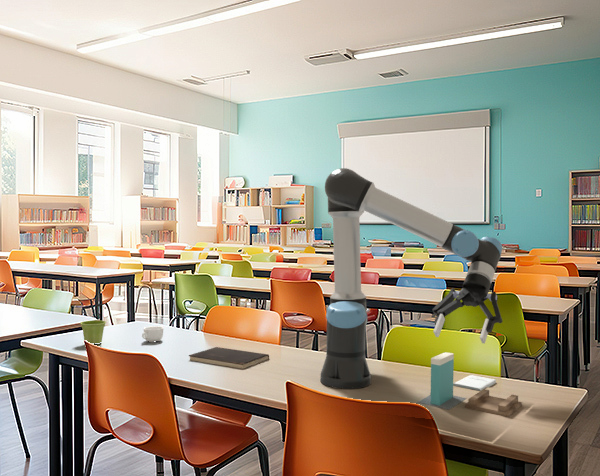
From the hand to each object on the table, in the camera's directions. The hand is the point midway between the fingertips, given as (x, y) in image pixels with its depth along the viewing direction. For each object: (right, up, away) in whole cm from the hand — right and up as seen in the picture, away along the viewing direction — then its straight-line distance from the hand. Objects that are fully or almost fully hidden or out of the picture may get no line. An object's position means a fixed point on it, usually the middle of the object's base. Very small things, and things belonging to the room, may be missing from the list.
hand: (458, 337), depth 156 cm
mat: (-7, -16, -8) cm, 19 cm away
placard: (-7, -15, -8) cm, 19 cm away
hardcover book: (-69, -15, +37) cm, 80 cm away
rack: (+6, -16, -12) cm, 21 cm away
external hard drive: (+7, -16, +8) cm, 20 cm away
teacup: (-104, -14, +65) cm, 124 cm away
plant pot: (-125, -14, +60) cm, 140 cm away
